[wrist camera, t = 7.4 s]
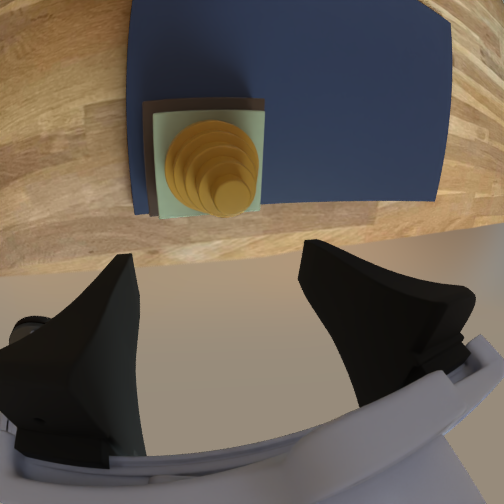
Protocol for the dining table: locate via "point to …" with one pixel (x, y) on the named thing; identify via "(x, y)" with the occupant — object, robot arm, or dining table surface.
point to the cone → (213, 168)
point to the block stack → (179, 117)
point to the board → (306, 89)
